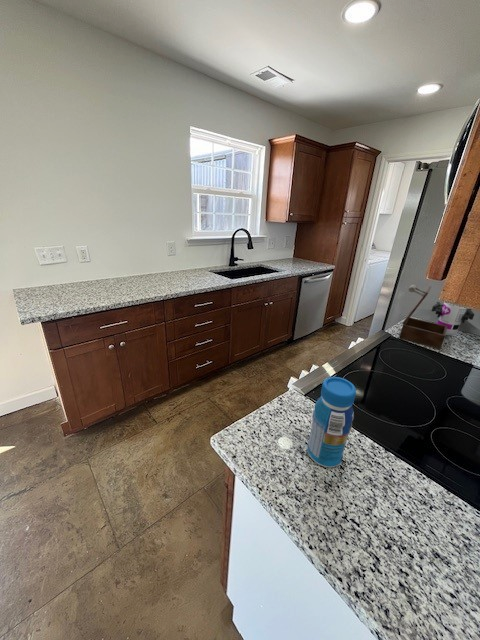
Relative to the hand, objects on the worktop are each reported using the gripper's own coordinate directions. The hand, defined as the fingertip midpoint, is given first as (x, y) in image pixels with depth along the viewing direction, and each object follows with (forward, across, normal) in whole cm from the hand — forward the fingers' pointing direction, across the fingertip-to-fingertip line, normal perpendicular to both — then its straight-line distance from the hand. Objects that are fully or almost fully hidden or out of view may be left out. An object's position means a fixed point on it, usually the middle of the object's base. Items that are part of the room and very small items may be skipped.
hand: (451, 317), depth 117 cm
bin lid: (+7, +13, +4) cm, 15 cm away
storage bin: (+7, +8, -11) cm, 15 cm away
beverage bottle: (+94, +18, -11) cm, 97 cm away
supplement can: (-5, 0, -9) cm, 10 cm away
